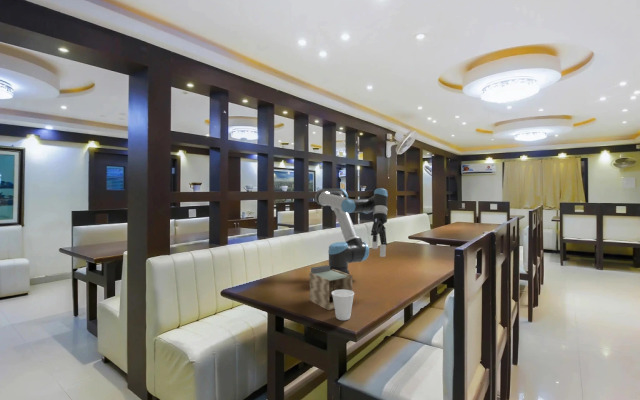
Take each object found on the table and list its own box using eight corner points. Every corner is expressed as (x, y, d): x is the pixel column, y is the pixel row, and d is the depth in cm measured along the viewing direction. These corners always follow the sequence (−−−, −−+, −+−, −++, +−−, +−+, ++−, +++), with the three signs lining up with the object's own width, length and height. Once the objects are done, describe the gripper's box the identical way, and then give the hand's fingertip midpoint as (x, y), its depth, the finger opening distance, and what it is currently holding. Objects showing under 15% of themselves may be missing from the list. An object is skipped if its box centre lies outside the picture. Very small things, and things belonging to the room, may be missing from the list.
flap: (309, 274, 161) (308, 268, 161) (328, 271, 168) (328, 264, 168) (325, 281, 149) (325, 274, 149) (346, 277, 155) (346, 270, 155)
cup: (352, 313, 142) (352, 289, 142) (356, 322, 132) (356, 296, 132) (330, 313, 142) (330, 289, 141) (332, 322, 132) (332, 296, 131)
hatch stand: (309, 300, 159) (309, 273, 159) (333, 295, 167) (333, 268, 167) (328, 310, 146) (327, 280, 145) (352, 303, 154) (352, 275, 153)
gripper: (380, 204, 161) (378, 244, 152) (392, 223, 181) (392, 259, 172) (366, 206, 165) (364, 244, 156) (380, 224, 184) (378, 259, 175)
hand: (378, 252), depth 164 cm, fingers open, 13 cm apart
